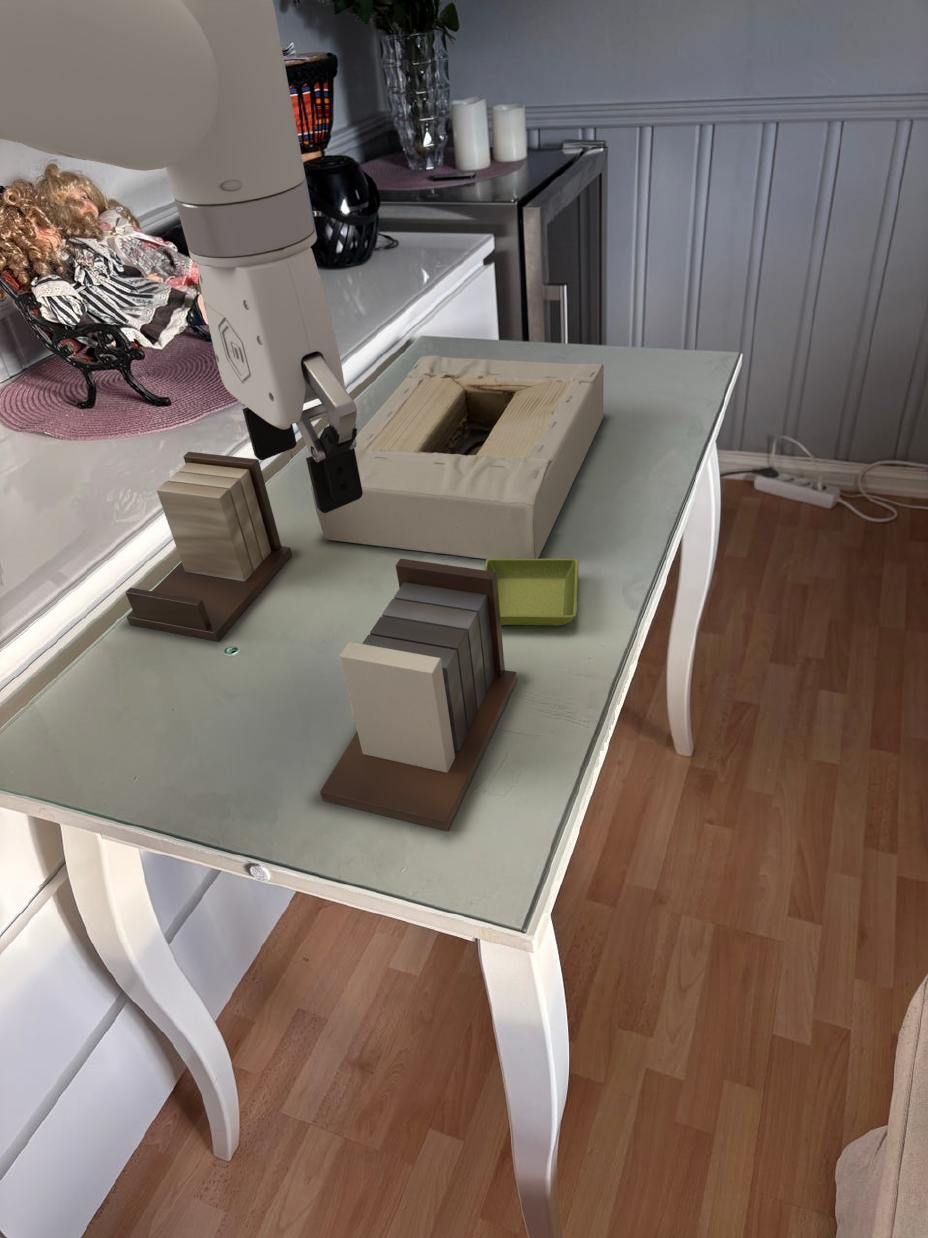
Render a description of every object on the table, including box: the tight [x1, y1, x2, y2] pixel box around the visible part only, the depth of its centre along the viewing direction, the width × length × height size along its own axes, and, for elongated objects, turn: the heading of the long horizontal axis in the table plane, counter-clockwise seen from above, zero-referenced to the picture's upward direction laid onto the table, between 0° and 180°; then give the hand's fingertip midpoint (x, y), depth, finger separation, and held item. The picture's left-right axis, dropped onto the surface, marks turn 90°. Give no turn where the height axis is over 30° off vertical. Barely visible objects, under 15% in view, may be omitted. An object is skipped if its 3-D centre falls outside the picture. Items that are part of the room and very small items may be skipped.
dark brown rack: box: [125, 451, 293, 642], centre depth 86 cm, size 14×10×11 cm
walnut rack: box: [319, 558, 518, 832], centre depth 68 cm, size 16×10×11 cm, turn 160°
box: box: [310, 355, 605, 560], centre depth 100 cm, size 23×8×32 cm
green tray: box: [483, 558, 580, 626], centre depth 82 cm, size 9×9×2 cm
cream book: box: [339, 641, 455, 773], centre depth 65 cm, size 2×7×10 cm, turn 70°
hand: (307, 477), depth 64 cm, fingers open, 9 cm apart
